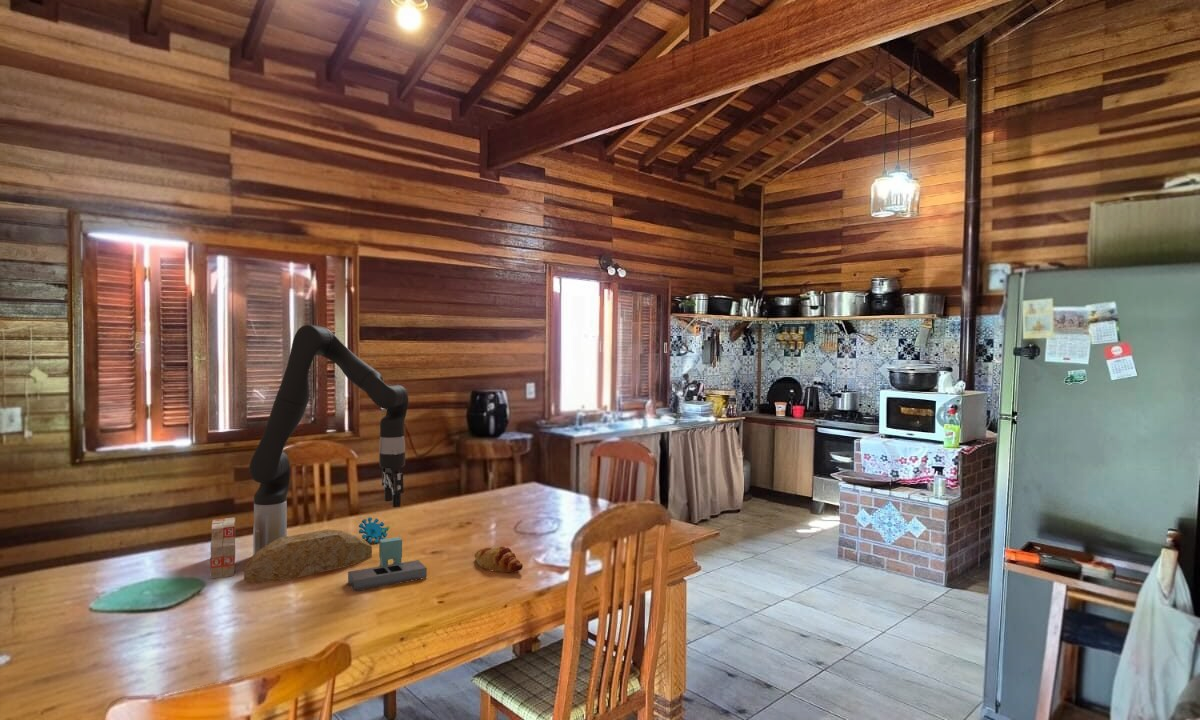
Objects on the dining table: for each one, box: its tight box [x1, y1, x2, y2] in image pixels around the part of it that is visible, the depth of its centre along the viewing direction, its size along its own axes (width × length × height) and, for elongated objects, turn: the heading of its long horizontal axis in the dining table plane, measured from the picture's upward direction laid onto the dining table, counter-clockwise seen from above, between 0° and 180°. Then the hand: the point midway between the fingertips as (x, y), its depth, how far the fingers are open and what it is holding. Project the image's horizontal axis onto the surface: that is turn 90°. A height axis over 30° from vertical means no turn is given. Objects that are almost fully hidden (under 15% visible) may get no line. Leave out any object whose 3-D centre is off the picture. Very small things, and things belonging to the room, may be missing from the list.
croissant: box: [474, 545, 524, 574], centre depth 203 cm, size 21×10×8 cm, turn 50°
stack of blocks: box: [209, 517, 236, 580], centre depth 201 cm, size 21×6×12 cm, turn 28°
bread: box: [243, 528, 373, 584], centre depth 200 cm, size 36×11×10 cm, turn 132°
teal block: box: [378, 536, 403, 567], centre depth 203 cm, size 6×3×8 cm, turn 122°
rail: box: [347, 559, 428, 592], centre depth 190 cm, size 20×8×3 cm, turn 122°
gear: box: [358, 516, 390, 544], centre depth 228 cm, size 11×6×10 cm
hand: (392, 503), depth 204 cm, fingers open, 8 cm apart
